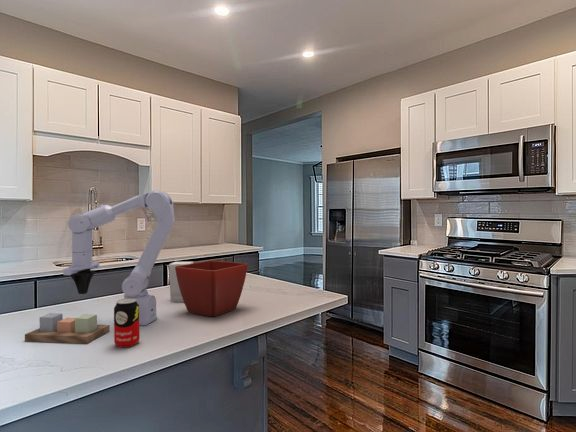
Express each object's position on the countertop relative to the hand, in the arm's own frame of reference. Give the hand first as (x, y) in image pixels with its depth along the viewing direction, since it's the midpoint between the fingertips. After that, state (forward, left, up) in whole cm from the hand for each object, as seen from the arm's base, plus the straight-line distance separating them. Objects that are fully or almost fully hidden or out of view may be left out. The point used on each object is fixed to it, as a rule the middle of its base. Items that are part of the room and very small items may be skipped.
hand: (82, 293), depth 115 cm
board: (-4, +11, -10) cm, 15 cm away
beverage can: (-24, +15, -10) cm, 30 cm away
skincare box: (-20, -32, -10) cm, 39 cm away
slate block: (+2, +11, -8) cm, 14 cm away
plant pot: (-37, -19, -10) cm, 43 cm away
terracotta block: (-4, +11, -9) cm, 15 cm away
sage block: (-9, +11, -8) cm, 16 cm away
